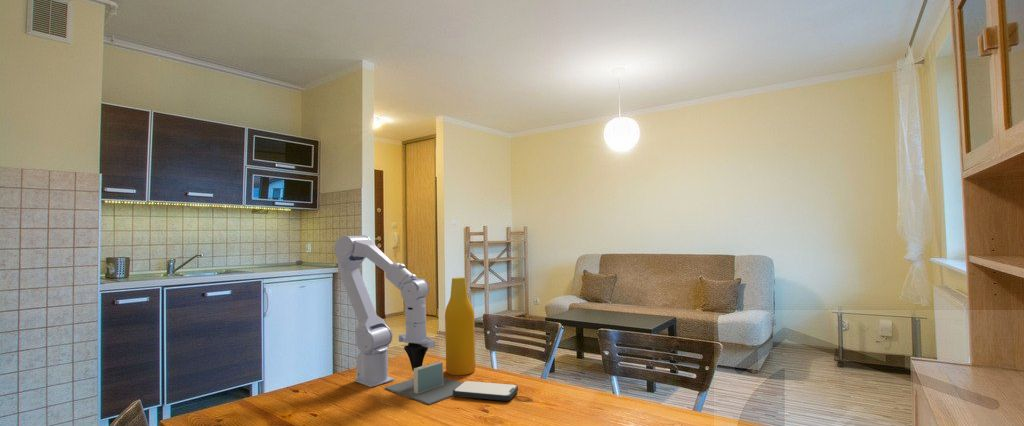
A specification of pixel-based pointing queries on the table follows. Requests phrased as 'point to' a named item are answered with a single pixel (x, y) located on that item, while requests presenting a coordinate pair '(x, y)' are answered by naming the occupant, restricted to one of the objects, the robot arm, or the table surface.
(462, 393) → the phone case
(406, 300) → the robot arm
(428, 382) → the card deck
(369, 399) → the table surface
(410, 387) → the mat
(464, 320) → the beer bottle
